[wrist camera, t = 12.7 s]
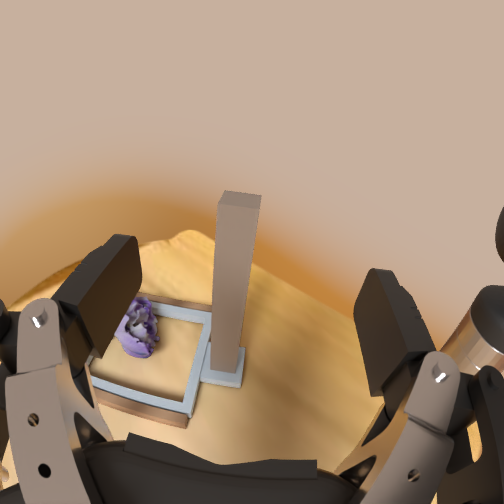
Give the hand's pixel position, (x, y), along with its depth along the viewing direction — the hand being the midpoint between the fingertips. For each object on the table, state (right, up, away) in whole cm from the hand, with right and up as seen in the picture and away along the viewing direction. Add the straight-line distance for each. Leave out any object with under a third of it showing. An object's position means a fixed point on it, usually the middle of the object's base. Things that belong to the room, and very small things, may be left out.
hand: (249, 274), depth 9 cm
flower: (-17, -13, +26) cm, 34 cm away
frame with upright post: (-12, -13, +25) cm, 31 cm away
